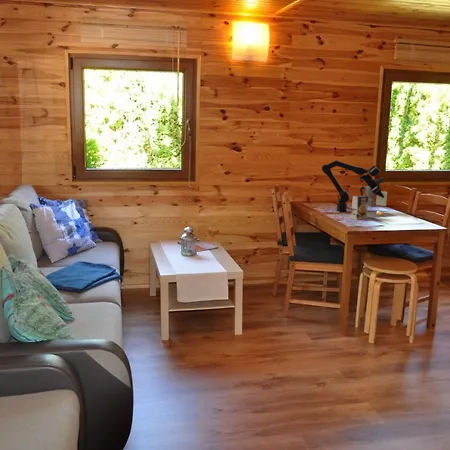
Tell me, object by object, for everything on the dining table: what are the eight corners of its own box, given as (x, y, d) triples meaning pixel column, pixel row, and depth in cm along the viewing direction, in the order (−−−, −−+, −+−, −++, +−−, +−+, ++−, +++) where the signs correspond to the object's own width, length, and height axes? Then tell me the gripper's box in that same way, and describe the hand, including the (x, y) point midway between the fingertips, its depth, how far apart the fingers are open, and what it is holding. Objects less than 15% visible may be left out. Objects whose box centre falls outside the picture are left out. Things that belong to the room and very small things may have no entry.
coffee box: (356, 220, 361) (358, 196, 358) (350, 218, 367) (352, 195, 363) (366, 219, 365) (368, 196, 362) (360, 217, 371) (362, 195, 368)
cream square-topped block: (385, 205, 382) (387, 192, 380) (376, 205, 383) (377, 192, 381) (385, 204, 388) (386, 191, 386) (376, 203, 390) (377, 191, 388)
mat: (372, 218, 368) (372, 217, 367) (354, 213, 385) (354, 212, 385) (398, 216, 378) (398, 216, 378) (379, 212, 396) (379, 211, 395)
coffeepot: (373, 204, 429) (375, 183, 426) (379, 206, 420) (381, 184, 417) (356, 204, 426) (357, 182, 422) (361, 206, 417) (363, 184, 413)
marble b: (380, 216, 374) (380, 212, 373) (377, 215, 377) (377, 211, 376) (383, 216, 375) (384, 212, 375) (380, 215, 378) (381, 211, 377)
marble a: (378, 215, 377) (378, 211, 377) (375, 214, 380) (375, 210, 380) (381, 215, 379) (381, 211, 378) (378, 214, 381) (378, 210, 381)
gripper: (378, 174, 373) (393, 191, 373) (377, 172, 391) (391, 188, 390) (366, 185, 376) (380, 201, 376) (366, 182, 394) (379, 197, 394)
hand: (383, 196), depth 384 cm, fingers closed on cream square-topped block, 7 cm apart
